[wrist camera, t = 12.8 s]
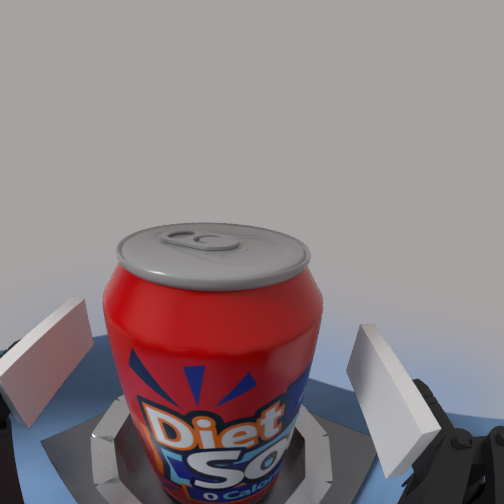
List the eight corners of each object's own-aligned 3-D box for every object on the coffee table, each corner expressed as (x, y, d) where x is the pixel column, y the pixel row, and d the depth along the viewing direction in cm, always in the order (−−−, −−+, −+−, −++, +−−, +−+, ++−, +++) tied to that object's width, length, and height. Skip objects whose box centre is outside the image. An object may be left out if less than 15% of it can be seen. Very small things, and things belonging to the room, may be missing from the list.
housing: (45, 448, 12) (23, 415, 11) (205, 365, 26) (204, 332, 25) (235, 629, 2) (238, 639, 1) (377, 446, 16) (397, 415, 15)
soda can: (195, 411, 19) (186, 212, 14) (293, 446, 16) (343, 234, 11) (133, 478, 12) (52, 247, 7) (248, 535, 9) (299, 325, 4)
